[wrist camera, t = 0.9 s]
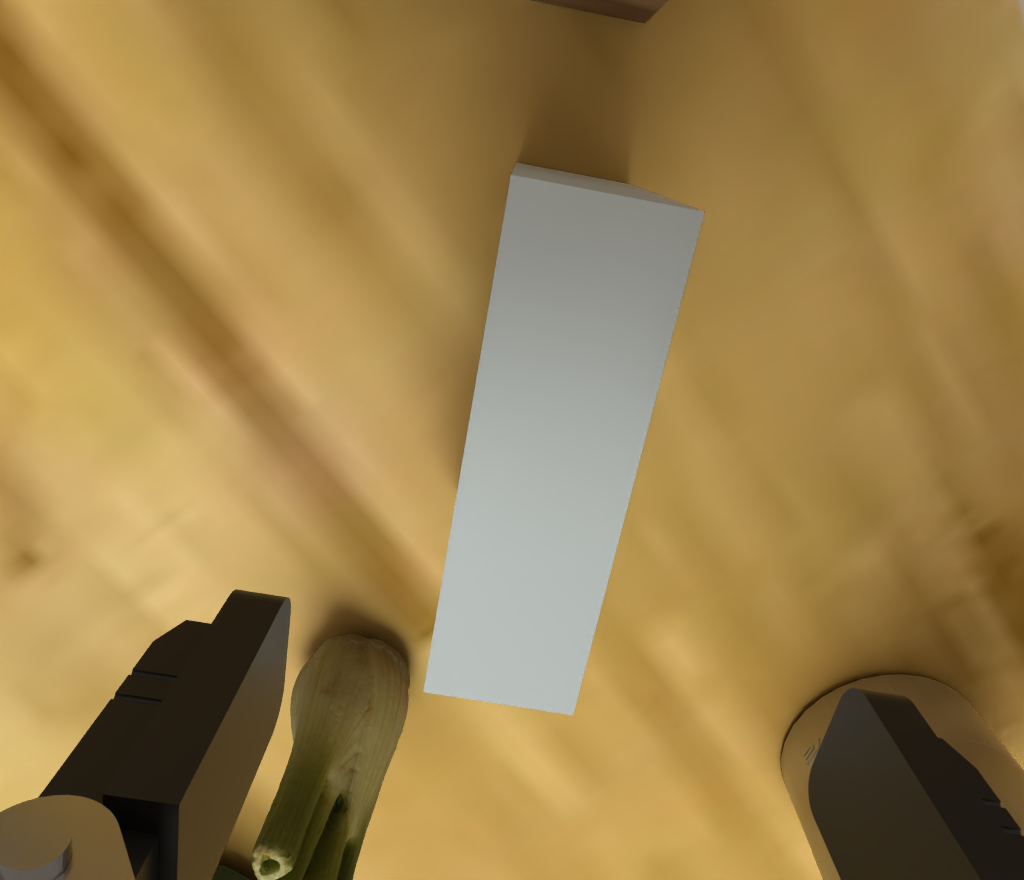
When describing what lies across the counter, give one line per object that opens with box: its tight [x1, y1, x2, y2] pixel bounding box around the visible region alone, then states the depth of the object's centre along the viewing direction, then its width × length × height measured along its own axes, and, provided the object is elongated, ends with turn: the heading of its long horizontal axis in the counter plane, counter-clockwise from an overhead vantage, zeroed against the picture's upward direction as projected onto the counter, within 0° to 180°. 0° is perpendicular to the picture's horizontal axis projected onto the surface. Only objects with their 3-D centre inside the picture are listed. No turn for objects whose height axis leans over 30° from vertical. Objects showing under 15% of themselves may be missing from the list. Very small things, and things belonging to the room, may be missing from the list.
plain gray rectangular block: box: [423, 162, 705, 715], centre depth 23 cm, size 4×13×12 cm, turn 170°
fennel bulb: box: [251, 634, 410, 880], centre depth 29 cm, size 6×5×12 cm
